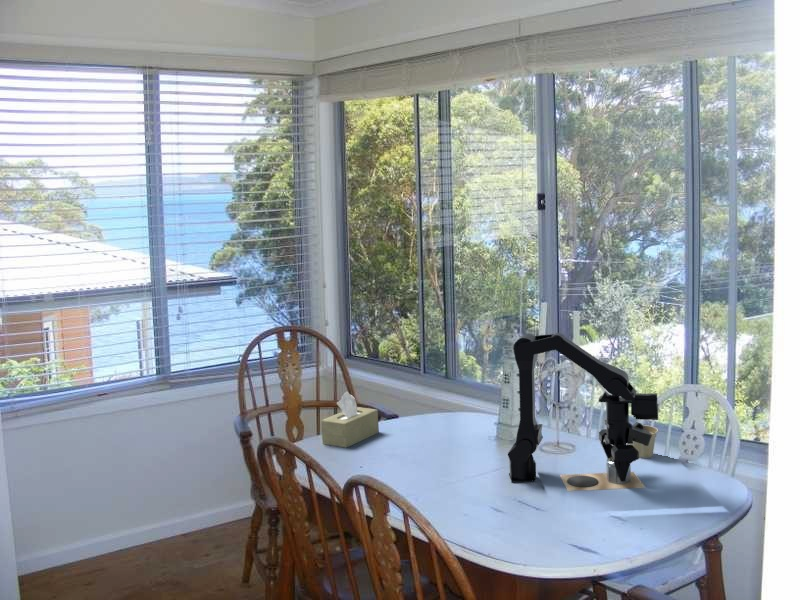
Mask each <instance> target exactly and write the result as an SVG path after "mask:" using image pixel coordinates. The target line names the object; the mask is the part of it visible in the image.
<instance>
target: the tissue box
mask: <svg viewBox="0 0 800 600" xmlns="http://www.w3.org/2000/svg"><path fill="white" fill-rule="evenodd" d="M336 405H337V406H338V407H339V408H340V410H341V412H339V413H336V414H333V415H331V416H329V417H326V418H324V419H321V420H320V421H321V422H320V424H321V425H320V426H321V438H322V444H323V445H327V446H334V447H339V448H340V447H341V448H344V449H345V448H349V447H351V446H353V445H355V444H357V443H359V442H361V441H364V440H366V439H367V438H369V437H372V436H374V435H377V434H379V432H380V429H379V428H380V427H379V410H378V409H375V408H369V407H368V408H367V407H360V406H358V405H357V401H356V398H355V397H354V396H353V395H352V394H350V393H349V391H345V392H344V393H343V394H342V396H341V398H340V399H339V400H338V401H337V402H336Z"/></svg>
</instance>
